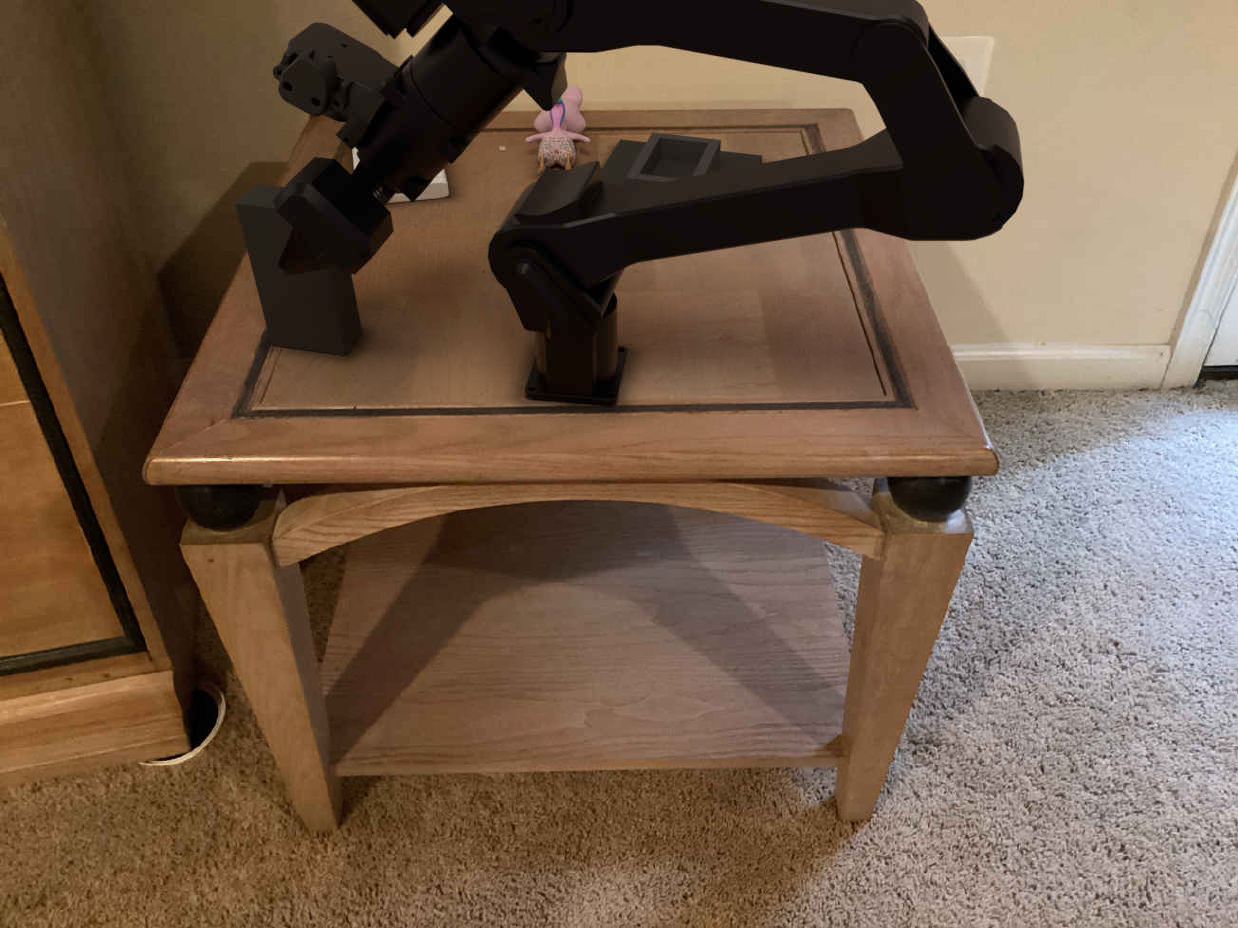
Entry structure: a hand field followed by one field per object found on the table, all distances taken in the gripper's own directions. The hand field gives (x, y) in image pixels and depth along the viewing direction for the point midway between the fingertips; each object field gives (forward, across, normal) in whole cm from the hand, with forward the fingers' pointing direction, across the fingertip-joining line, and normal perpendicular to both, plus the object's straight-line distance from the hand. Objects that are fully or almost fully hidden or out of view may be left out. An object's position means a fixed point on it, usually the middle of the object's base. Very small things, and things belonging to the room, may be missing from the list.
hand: (315, 235), depth 74 cm
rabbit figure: (+2, -37, +11) cm, 39 cm away
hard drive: (+11, -28, +2) cm, 30 cm away
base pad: (-8, -30, +20) cm, 37 cm away
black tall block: (+7, 0, +5) cm, 9 cm away
